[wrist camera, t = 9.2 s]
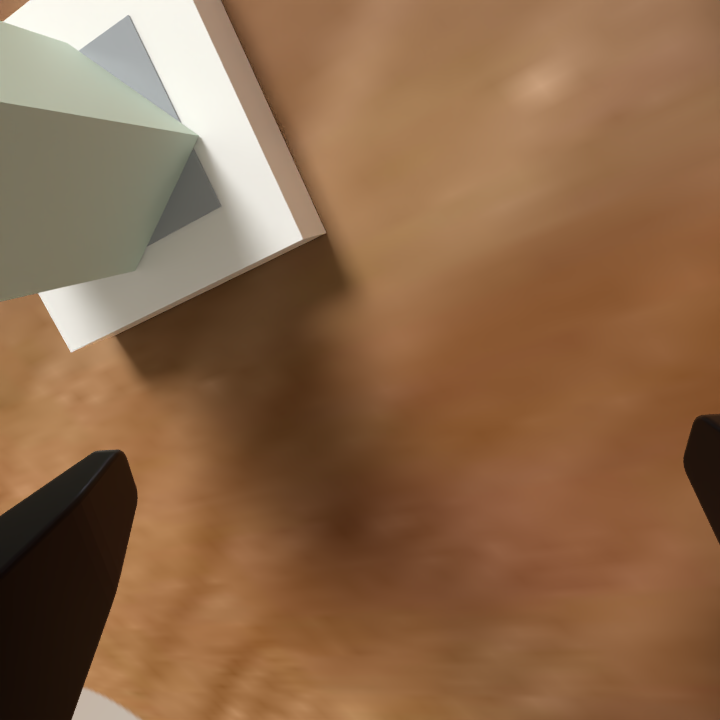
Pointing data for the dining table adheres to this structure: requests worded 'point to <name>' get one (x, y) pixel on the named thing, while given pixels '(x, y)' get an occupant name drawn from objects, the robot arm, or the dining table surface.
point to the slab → (203, 168)
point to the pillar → (77, 167)
